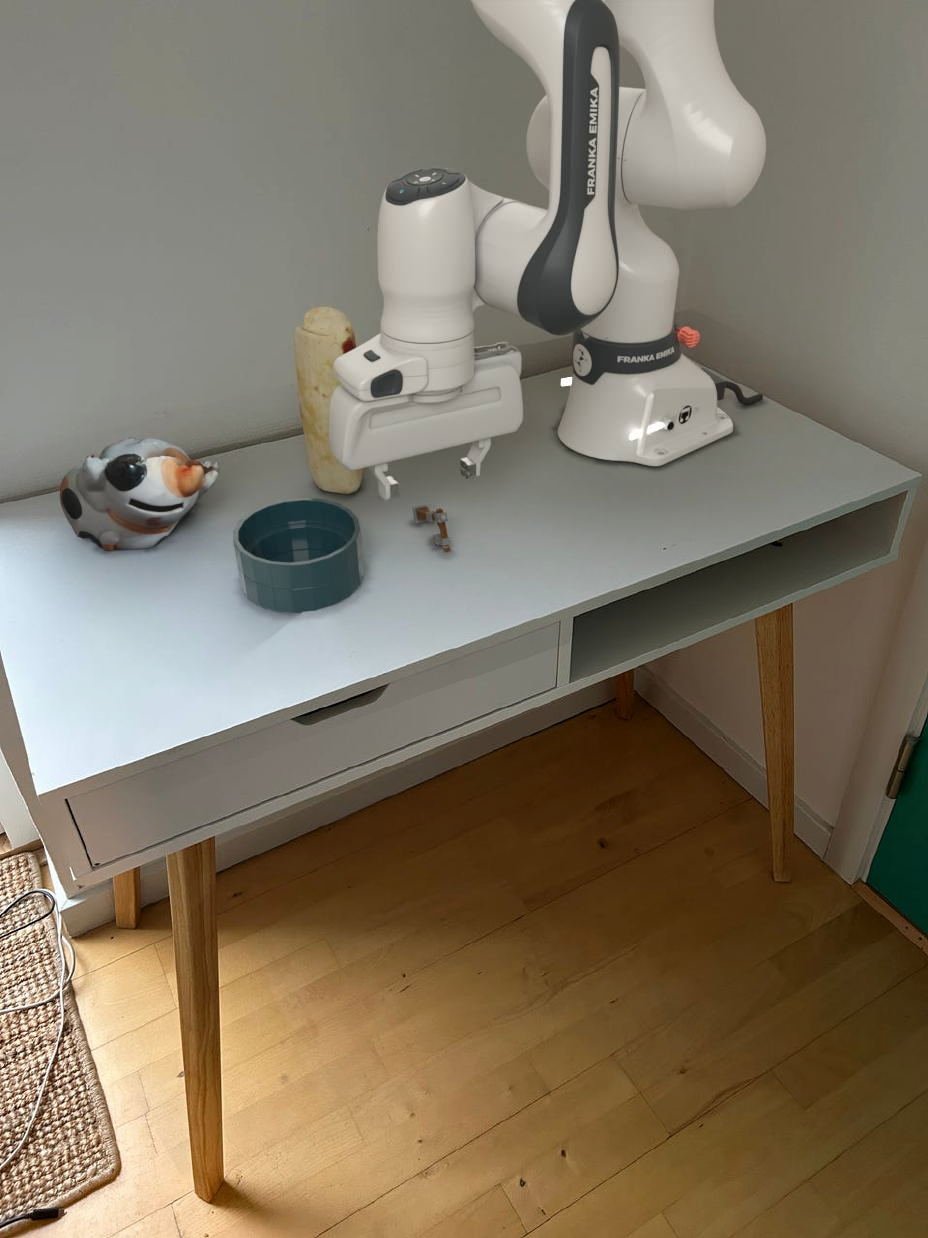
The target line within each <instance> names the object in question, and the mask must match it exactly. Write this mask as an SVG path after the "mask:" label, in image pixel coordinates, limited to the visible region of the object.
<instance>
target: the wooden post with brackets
mask: <svg viewBox="0 0 928 1238" xmlns="http://www.w3.org/2000/svg"><path fill="white" fill-rule="evenodd" d="M411 509H412V514H413V519H414V520H413V521H414V524H419V523H424V522H431V523H434V522H435V523H436V524H437V527H438V529H439V533H436V534H432V539H433V544H434V545H436V546H440V545H441V546H442V550H443V552H445V553H447V552H451V540H450V537H449V534H448V529H447V525H446V523H447V522H448V521H449V519H448V514H447V511H444V510H443V509H442V508H436V509H435V510H430V507H429V504H428V503H425V504H420V505H416V506H412V507H411Z"/></svg>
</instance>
